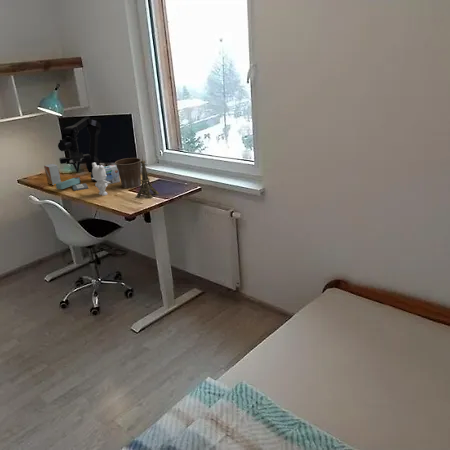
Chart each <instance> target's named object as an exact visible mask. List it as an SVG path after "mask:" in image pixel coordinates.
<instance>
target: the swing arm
mask: <svg viewBox="0 0 450 450" xmlns="http://www.w3.org/2000/svg"><path fill="white" fill-rule="evenodd" d="M81 182H82V181H81V178H80V176H77V177H73V178H70V179H67V180H63V181H61V182H60V183H57V184H56V185H55V188H56V189H57V190H64V189H67V188H69V187H72V186H73V185H76V184H78V183H80V184H81Z"/></svg>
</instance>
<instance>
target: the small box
mask: <svg viewBox="0 0 450 450" xmlns="http://www.w3.org/2000/svg"><path fill="white" fill-rule="evenodd" d="M43 167H44V173H45V177H46V182H47V184H48V183H49V184H52V185H54V184H57V183H60V182H62V180H61V176H60V170H59V166H58V164H55V163H49V164H45V165H43ZM49 184H48V185H49ZM52 185H51V186H52Z"/></svg>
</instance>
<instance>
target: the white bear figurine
mask: <svg viewBox="0 0 450 450" xmlns="http://www.w3.org/2000/svg"><path fill="white" fill-rule="evenodd" d="M92 167H93V169H92V174H93V177H94V178H91V177H90V180H91V179H94V180H96V181H97V182H95V184H94V185H95V187H96V188H97V190H98V191H99V192H98V195H100V196H107V195H108V192H107V191H106V188H107V187H108V185H107V183H111V182H107V181H106V180H104V179H106V176H107V175H106V171H105V169H104V167H105V166H104V165H102V164H100V166H99V165H97V164H96V163H95V162H94V163H92Z"/></svg>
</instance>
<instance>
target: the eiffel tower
mask: <svg viewBox="0 0 450 450" xmlns="http://www.w3.org/2000/svg"><path fill="white" fill-rule="evenodd" d="M145 163H146V160H144V158H143V155H142V158H141V185H140V186H139V187H140V189H139V190H138V192H137V193H136V196H135V197H134V198H135V199H137V198H138V199H140V198H141V197H142V194H145V195H146V196H147V197H146V199H152V198H154V196H153V195H159V194H160V192H158V190H156V188H155V187H153V185H152V184H151V182H150V178H149V176H148V171H147V168H146V164H145ZM150 191H151V192H152V193H151V192H150ZM152 194H153V195H152Z"/></svg>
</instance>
